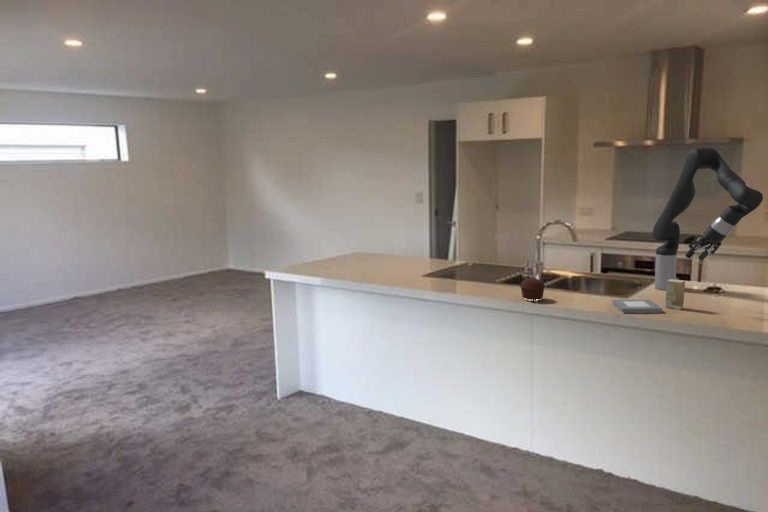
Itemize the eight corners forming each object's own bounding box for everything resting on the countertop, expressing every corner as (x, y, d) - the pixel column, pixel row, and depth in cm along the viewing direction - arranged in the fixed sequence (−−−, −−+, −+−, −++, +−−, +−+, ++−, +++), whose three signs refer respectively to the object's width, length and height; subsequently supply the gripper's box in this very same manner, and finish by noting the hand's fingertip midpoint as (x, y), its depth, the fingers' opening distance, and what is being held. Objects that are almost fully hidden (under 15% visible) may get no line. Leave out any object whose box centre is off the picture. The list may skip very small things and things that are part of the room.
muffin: (547, 298, 279) (548, 277, 277) (541, 303, 269) (541, 282, 268) (523, 296, 285) (523, 276, 283) (516, 301, 276) (516, 280, 274)
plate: (612, 303, 263) (612, 299, 263) (649, 303, 261) (649, 299, 261) (622, 313, 248) (622, 308, 247) (661, 312, 246) (661, 308, 245)
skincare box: (664, 307, 253) (666, 280, 251) (668, 305, 256) (669, 278, 254) (680, 310, 249) (681, 282, 247) (684, 308, 252) (685, 280, 250)
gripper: (724, 225, 246) (698, 254, 255) (702, 221, 240) (677, 250, 248) (736, 237, 241) (709, 265, 250) (715, 232, 234) (688, 262, 243)
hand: (693, 258), depth 249 cm, fingers open, 8 cm apart
